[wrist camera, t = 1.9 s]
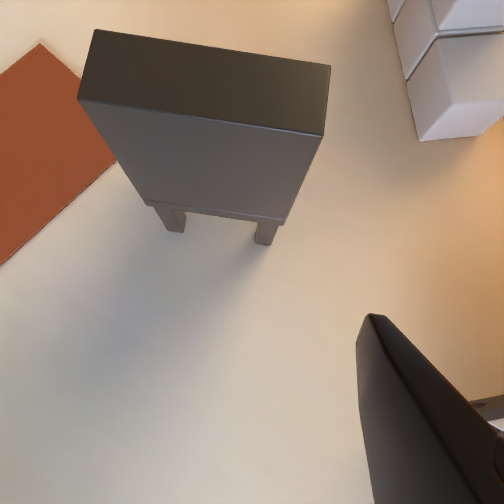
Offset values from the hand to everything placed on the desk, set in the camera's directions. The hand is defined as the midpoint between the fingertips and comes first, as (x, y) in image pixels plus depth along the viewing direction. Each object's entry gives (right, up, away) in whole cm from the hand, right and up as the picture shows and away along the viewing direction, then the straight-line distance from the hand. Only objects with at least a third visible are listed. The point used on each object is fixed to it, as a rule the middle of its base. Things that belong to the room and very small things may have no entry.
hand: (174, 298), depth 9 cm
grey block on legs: (0, +5, +13) cm, 14 cm away
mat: (-12, +6, +13) cm, 18 cm away
